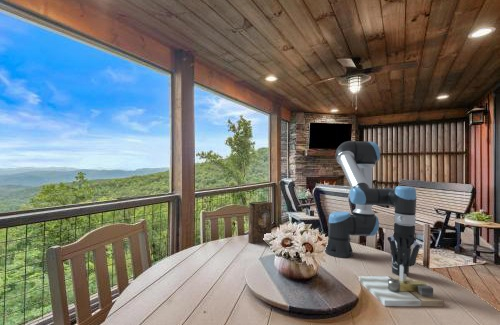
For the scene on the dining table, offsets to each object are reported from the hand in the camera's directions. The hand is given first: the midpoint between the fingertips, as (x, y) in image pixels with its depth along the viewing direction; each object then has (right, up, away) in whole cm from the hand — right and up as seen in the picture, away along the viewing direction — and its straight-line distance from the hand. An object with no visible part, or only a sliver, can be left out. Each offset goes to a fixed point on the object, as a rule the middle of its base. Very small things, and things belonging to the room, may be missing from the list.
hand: (402, 280), depth 107 cm
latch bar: (-2, -1, -6) cm, 7 cm away
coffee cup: (+8, -4, +15) cm, 17 cm away
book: (-57, -2, +60) cm, 83 cm away
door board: (-5, -3, -4) cm, 7 cm away
